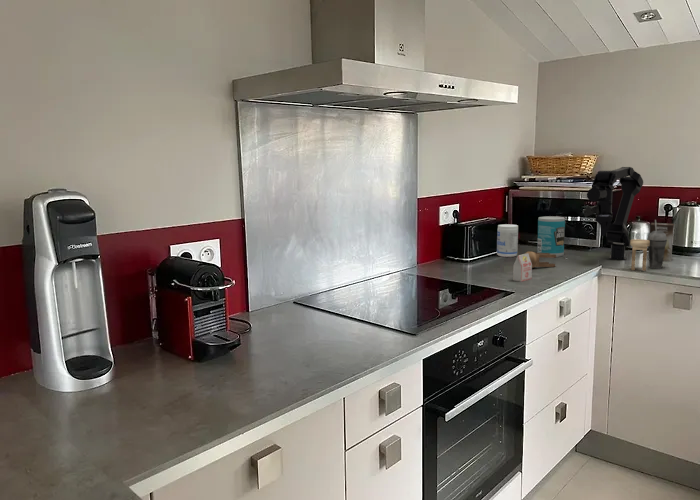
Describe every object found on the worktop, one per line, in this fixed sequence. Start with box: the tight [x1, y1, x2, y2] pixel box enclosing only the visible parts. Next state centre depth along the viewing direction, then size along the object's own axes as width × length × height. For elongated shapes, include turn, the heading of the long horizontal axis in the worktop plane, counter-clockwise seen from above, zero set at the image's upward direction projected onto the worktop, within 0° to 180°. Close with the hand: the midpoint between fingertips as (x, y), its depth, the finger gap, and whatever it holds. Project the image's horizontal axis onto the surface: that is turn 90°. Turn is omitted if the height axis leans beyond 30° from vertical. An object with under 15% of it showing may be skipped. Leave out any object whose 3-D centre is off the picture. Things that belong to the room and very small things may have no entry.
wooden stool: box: [524, 251, 557, 269], centre depth 240 cm, size 7×7×12 cm
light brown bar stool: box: [629, 238, 650, 272], centre depth 230 cm, size 7×7×12 cm
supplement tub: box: [496, 223, 519, 258], centre depth 269 cm, size 10×10×15 cm
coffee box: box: [647, 222, 675, 262], centre depth 249 cm, size 9×6×16 cm
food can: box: [536, 215, 566, 258], centre depth 266 cm, size 12×12×18 cm
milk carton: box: [512, 252, 533, 283], centre depth 217 cm, size 4×7×10 cm, turn 128°
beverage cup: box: [646, 219, 667, 270], centre depth 231 cm, size 7×7×20 cm
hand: (603, 235), depth 244 cm, fingers closed
